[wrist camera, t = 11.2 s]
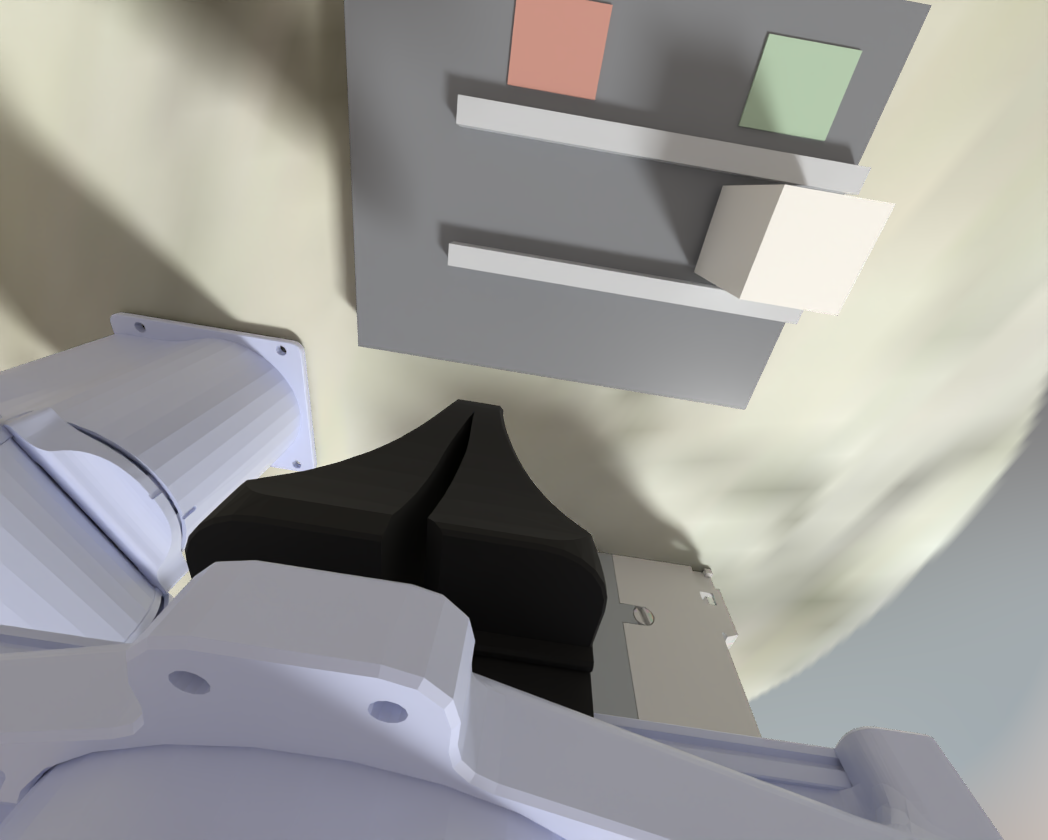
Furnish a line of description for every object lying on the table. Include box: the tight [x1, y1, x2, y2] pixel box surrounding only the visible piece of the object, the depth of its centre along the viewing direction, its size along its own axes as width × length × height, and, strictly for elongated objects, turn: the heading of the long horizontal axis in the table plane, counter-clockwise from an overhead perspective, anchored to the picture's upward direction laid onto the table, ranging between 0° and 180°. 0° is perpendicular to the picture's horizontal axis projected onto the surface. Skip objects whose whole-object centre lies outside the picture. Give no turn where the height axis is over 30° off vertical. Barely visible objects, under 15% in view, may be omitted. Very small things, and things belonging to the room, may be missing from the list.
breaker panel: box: [344, 0, 931, 410], centre depth 16 cm, size 18×14×3 cm
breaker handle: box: [694, 184, 895, 316], centre depth 14 cm, size 3×3×5 cm
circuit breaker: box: [591, 552, 762, 738], centre depth 22 cm, size 8×14×15 cm, turn 82°
